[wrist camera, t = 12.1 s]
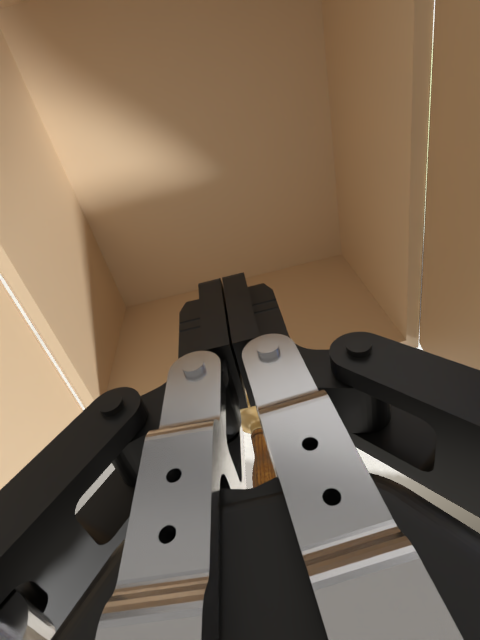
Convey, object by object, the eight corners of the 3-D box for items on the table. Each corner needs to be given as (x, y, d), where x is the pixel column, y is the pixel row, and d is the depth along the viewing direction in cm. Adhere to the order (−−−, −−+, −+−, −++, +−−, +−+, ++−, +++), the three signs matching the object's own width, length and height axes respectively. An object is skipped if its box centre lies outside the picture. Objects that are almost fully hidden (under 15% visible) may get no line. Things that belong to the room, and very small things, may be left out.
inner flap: (489, 492, 18) (504, 491, 18) (741, -569, 5) (800, -594, 5) (419, 341, 26) (429, 340, 26) (444, -195, 13) (464, -201, 13)
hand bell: (248, 420, 49) (271, 556, 36) (198, 386, 45) (203, 525, 32) (301, 381, 47) (347, 513, 33) (253, 342, 43) (284, 474, 30)
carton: (322, -109, 24) (445, -250, 13) (348, 261, 39) (417, 353, 27) (-28, -13, 25) (-212, -65, 13) (124, 316, 39) (98, 429, 28)
